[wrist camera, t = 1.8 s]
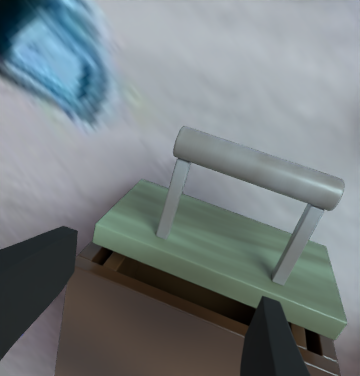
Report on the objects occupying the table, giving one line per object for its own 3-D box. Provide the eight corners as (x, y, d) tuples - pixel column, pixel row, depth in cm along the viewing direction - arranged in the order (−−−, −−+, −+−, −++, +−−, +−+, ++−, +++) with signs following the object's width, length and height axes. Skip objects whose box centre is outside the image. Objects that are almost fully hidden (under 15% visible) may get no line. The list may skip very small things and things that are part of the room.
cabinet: (132, 197, 23) (69, 264, 16) (318, 267, 21) (342, 378, 14) (101, 338, 30) (46, 429, 23) (239, 400, 28) (228, 519, 21)
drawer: (161, 93, 19) (114, 110, 13) (375, 163, 17) (425, 217, 11) (107, 325, 27) (65, 394, 22) (245, 384, 26) (237, 476, 20)
